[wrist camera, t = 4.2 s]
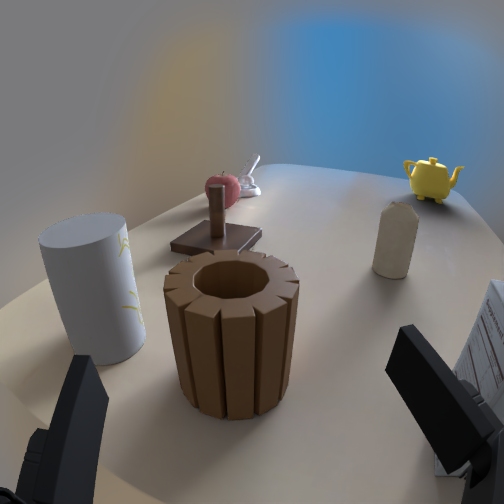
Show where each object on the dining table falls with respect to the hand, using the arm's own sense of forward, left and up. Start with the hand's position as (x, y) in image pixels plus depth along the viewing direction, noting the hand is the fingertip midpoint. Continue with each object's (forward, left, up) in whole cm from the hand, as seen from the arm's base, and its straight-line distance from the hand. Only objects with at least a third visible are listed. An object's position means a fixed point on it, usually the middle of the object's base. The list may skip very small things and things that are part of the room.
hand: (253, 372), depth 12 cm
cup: (-19, +8, -11) cm, 23 cm away
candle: (+8, +34, -11) cm, 37 cm away
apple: (-27, +51, -11) cm, 59 cm away
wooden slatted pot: (-5, +8, -11) cm, 15 cm away
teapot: (+23, +88, -11) cm, 92 cm away
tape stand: (-19, +33, -11) cm, 40 cm away
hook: (-27, +64, -11) cm, 71 cm away
